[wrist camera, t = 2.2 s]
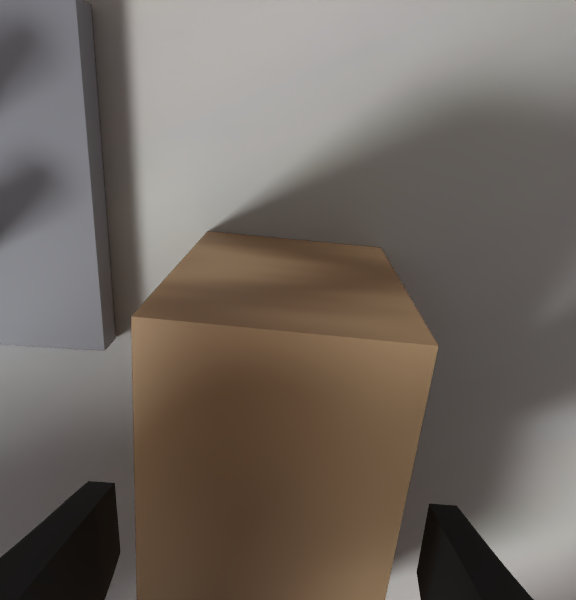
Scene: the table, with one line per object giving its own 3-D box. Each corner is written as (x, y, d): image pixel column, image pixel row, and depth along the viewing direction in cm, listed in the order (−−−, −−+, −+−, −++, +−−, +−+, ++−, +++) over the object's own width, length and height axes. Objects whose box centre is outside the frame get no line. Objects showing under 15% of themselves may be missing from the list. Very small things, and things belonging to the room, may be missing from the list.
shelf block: (379, 246, 13) (438, 345, 7) (325, 592, 17) (336, 830, 11) (208, 229, 13) (131, 316, 7) (196, 579, 17) (140, 811, 11)
